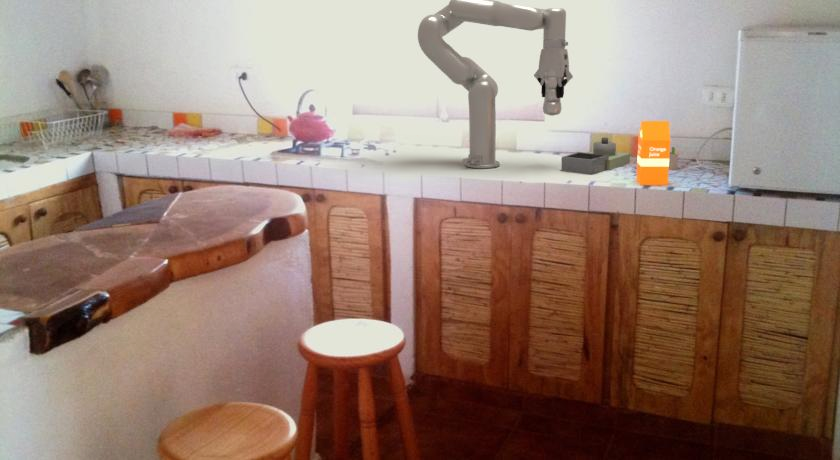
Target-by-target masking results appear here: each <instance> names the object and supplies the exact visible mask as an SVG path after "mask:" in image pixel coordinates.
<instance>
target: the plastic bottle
mask: <svg viewBox="0 0 840 460" xmlns="http://www.w3.org/2000/svg"><path fill="white" fill-rule="evenodd" d="M544 76H545V77H544V80H545V97H543V98H544V100H543V101H544V102H543V105H542V109H543V113H544V114H545V115H547V116H552V117H553V116H558V115H560V114H561V113H562V102H561V98H557V87H559V84H558V78H556V73H555V72H554V71H553V70H552V69H548V70H546V71H545V73H544Z"/></svg>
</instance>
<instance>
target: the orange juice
mask: <svg viewBox="0 0 840 460" xmlns="http://www.w3.org/2000/svg"><path fill="white" fill-rule="evenodd" d="M670 132H671V131H670V120H655V121H654V120H641V123H640V127H639V132H638V140H637V142H638V143H637V156H636V157H637V159H636V177H635V179H636V181H637V182H638V184H639V185H640V186H668V183H669V170H670V169H669V155H670V151H671V150H670V149H671V133H670Z"/></svg>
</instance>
